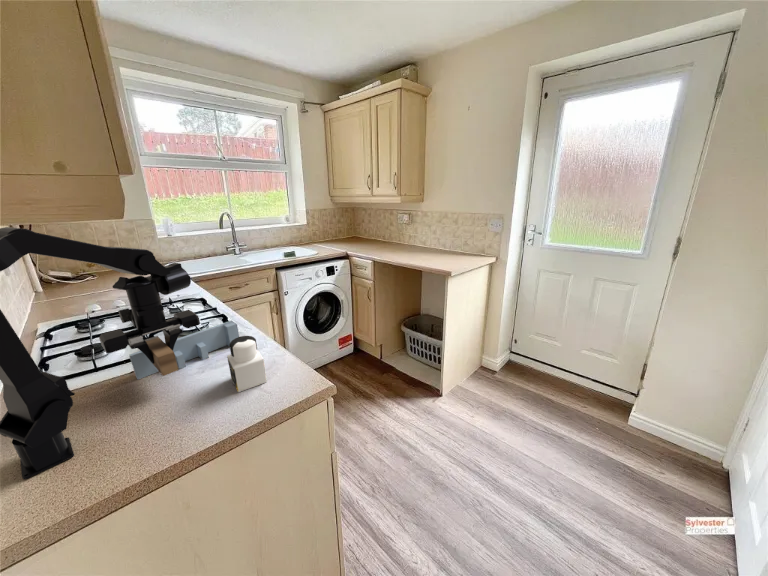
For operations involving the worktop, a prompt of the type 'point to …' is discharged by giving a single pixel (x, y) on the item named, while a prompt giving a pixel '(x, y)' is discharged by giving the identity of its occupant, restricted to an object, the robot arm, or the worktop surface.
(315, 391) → the worktop surface
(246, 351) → the medicine bottle
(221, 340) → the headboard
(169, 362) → the brown wooden block
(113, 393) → the worktop surface
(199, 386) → the worktop surface
